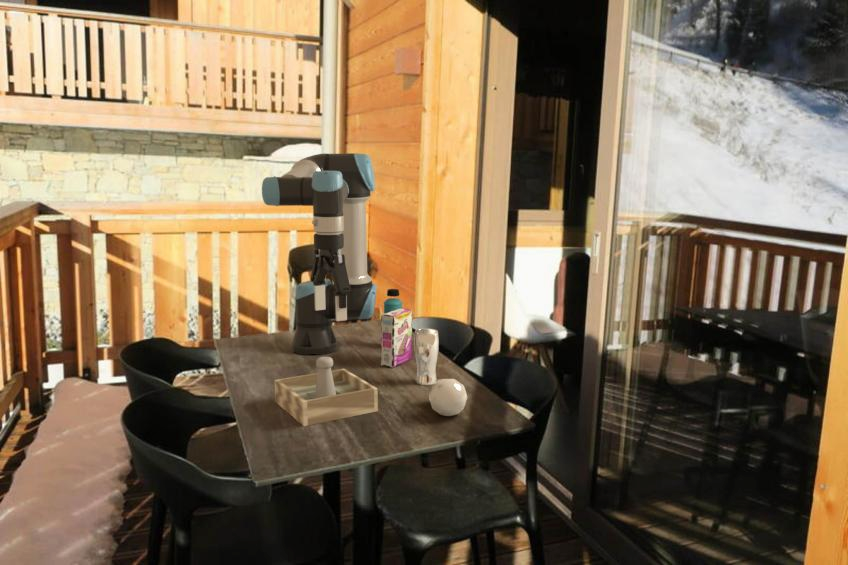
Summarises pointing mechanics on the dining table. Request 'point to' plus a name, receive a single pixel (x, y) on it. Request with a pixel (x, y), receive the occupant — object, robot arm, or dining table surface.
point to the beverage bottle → (392, 301)
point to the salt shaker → (324, 378)
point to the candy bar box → (396, 337)
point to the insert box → (347, 402)
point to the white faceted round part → (448, 397)
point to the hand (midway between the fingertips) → (330, 315)
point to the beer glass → (426, 355)
